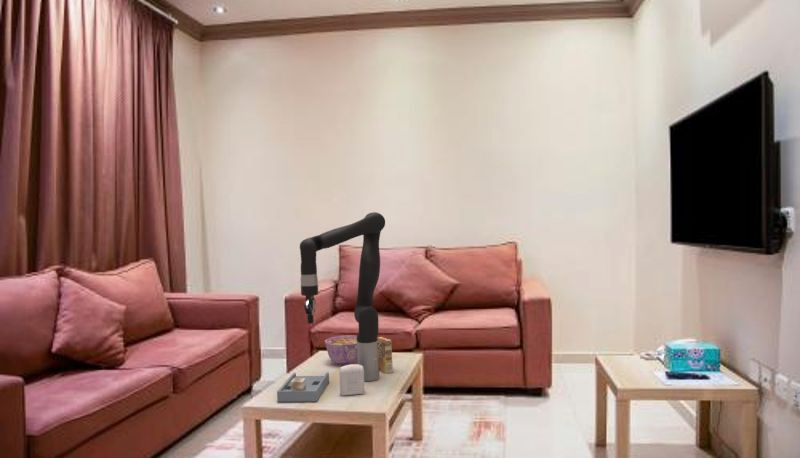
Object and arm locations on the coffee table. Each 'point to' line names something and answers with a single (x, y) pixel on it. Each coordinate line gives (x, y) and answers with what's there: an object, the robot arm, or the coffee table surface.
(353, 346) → the bowl of food
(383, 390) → the coffee table surface
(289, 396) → the track
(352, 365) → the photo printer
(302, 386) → the cream cube
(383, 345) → the candy box
